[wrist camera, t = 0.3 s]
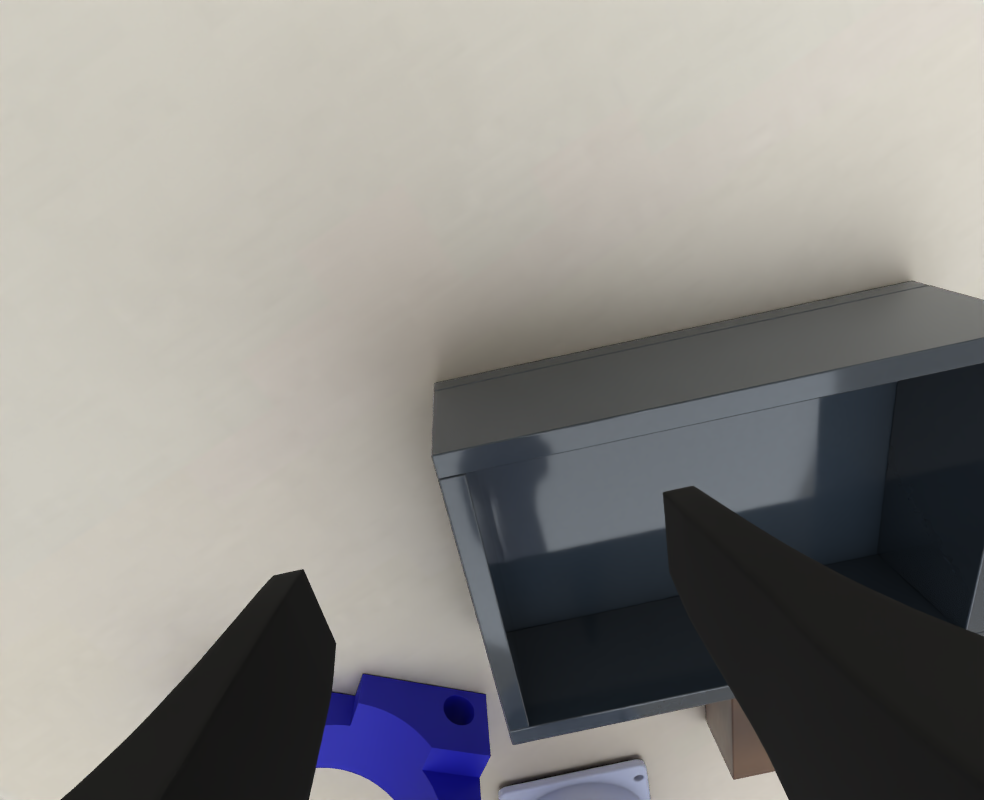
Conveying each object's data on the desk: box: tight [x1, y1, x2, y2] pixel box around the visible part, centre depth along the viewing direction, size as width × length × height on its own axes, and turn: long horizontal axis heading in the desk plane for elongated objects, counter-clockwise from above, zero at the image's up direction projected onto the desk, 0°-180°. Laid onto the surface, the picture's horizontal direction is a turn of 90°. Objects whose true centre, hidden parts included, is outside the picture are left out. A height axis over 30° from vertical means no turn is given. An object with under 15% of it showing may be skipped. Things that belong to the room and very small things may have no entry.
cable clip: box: [316, 674, 491, 800], centre depth 24 cm, size 12×4×6 cm, turn 71°
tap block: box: [706, 698, 775, 779], centre depth 26 cm, size 9×11×3 cm
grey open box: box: [431, 281, 984, 745], centre depth 20 cm, size 13×18×5 cm
